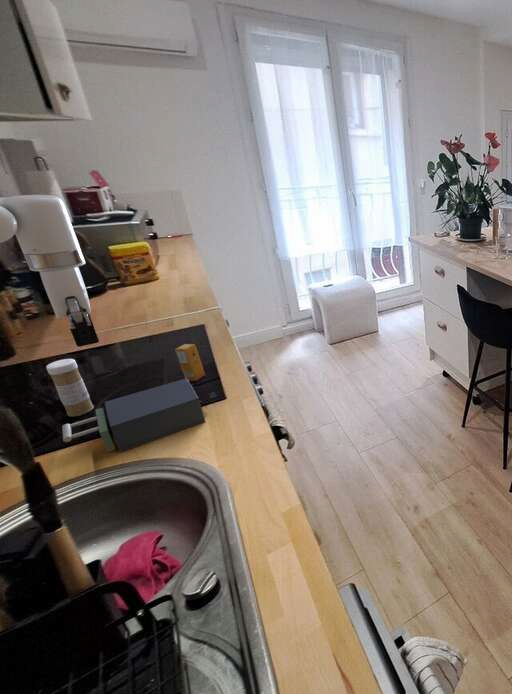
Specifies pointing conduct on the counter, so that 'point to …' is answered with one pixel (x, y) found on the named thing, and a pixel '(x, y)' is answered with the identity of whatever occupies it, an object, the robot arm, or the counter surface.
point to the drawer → (102, 427)
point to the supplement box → (190, 362)
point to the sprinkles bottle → (70, 387)
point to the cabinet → (153, 413)
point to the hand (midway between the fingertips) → (86, 337)
